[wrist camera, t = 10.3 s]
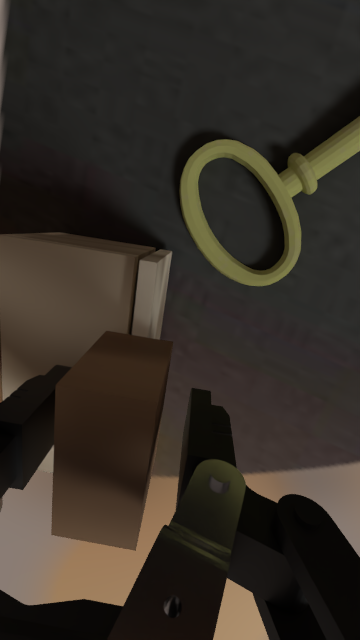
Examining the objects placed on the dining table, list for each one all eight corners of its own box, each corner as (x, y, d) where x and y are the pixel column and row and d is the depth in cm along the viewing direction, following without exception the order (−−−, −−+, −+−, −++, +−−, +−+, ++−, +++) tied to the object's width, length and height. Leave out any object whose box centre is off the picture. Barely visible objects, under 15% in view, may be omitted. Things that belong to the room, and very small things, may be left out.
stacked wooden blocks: (84, 236, 15) (-75, 250, 6) (190, 254, 15) (173, 291, 6) (75, 412, 18) (-40, 579, 10) (163, 427, 18) (126, 611, 10)
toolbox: (59, 232, 16) (-3, 234, 11) (155, 247, 16) (134, 256, 11) (55, 404, 19) (4, 464, 14) (134, 418, 19) (111, 483, 14)
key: (447, 80, 13) (492, 53, 11) (258, 300, 17) (265, 310, 14) (323, -41, 12) (347, -95, 10) (151, 218, 16) (143, 217, 14)
